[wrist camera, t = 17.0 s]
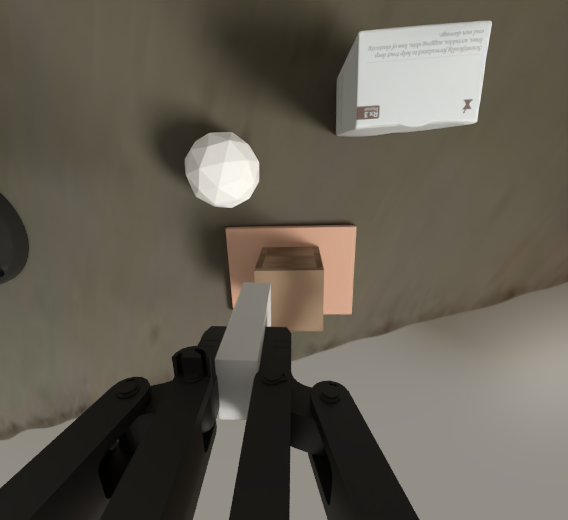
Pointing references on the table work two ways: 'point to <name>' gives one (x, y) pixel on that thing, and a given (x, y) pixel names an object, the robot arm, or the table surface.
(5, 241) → the robot arm
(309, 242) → the base plate
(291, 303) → the cardboard carton
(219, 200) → the ball
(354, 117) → the skincare box
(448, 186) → the table surface
